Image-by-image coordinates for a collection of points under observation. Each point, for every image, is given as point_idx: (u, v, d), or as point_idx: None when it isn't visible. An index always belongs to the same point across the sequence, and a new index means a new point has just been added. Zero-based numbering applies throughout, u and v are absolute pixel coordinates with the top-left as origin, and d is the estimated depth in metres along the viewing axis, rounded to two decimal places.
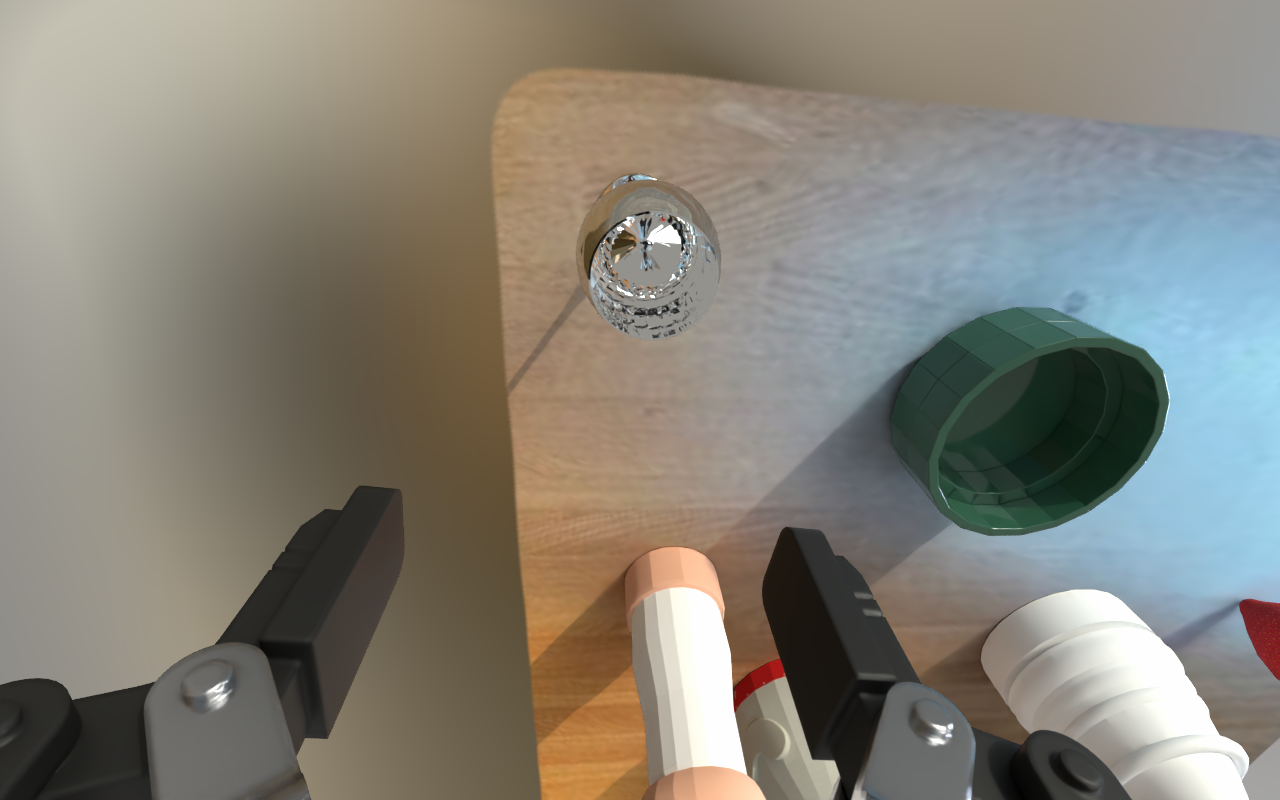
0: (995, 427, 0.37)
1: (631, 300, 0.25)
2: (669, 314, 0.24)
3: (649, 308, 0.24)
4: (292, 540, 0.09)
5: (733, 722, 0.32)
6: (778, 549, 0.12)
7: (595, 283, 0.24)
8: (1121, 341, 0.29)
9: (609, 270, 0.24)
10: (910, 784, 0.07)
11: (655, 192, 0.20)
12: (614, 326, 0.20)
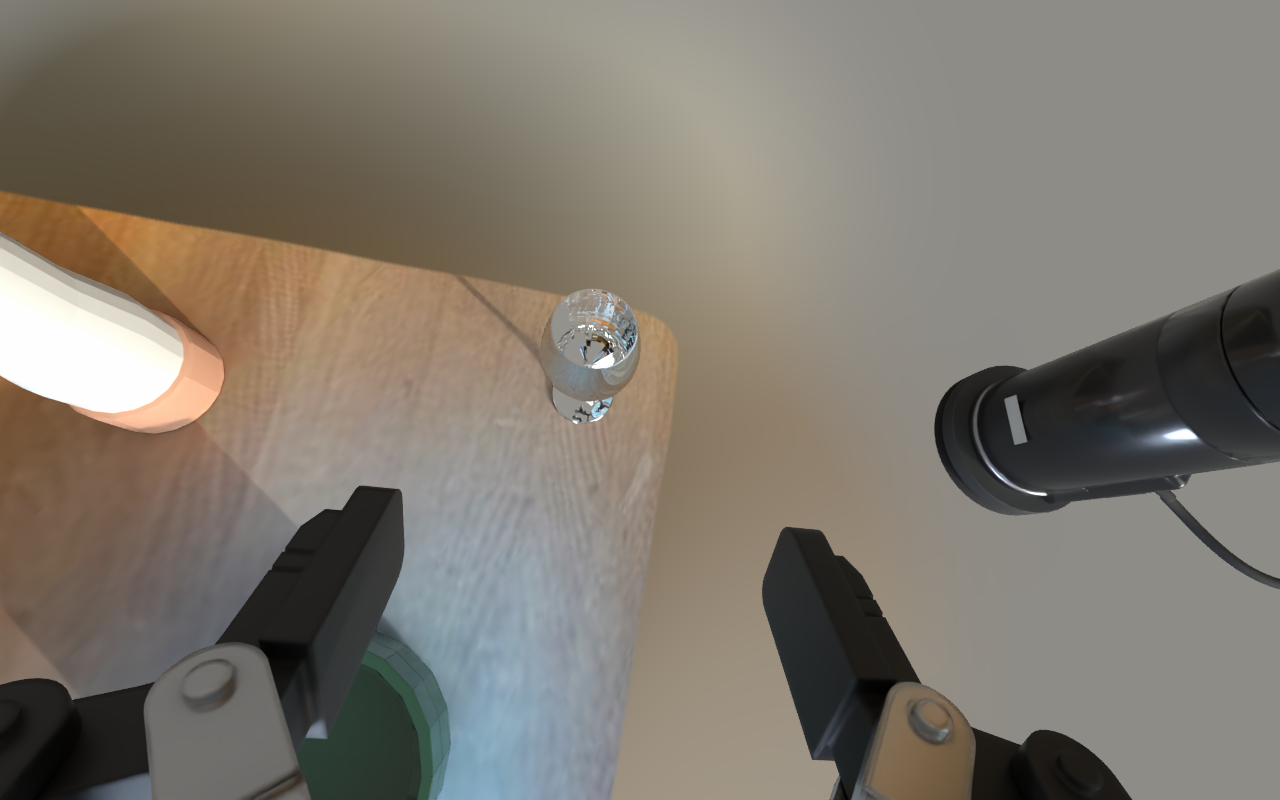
0: None
1: None
2: (543, 362, 0.32)
3: None
4: (292, 540, 0.09)
5: None
6: (778, 549, 0.12)
7: (570, 322, 0.34)
8: None
9: (573, 337, 0.34)
10: (910, 784, 0.07)
11: (639, 348, 0.31)
12: (565, 299, 0.29)
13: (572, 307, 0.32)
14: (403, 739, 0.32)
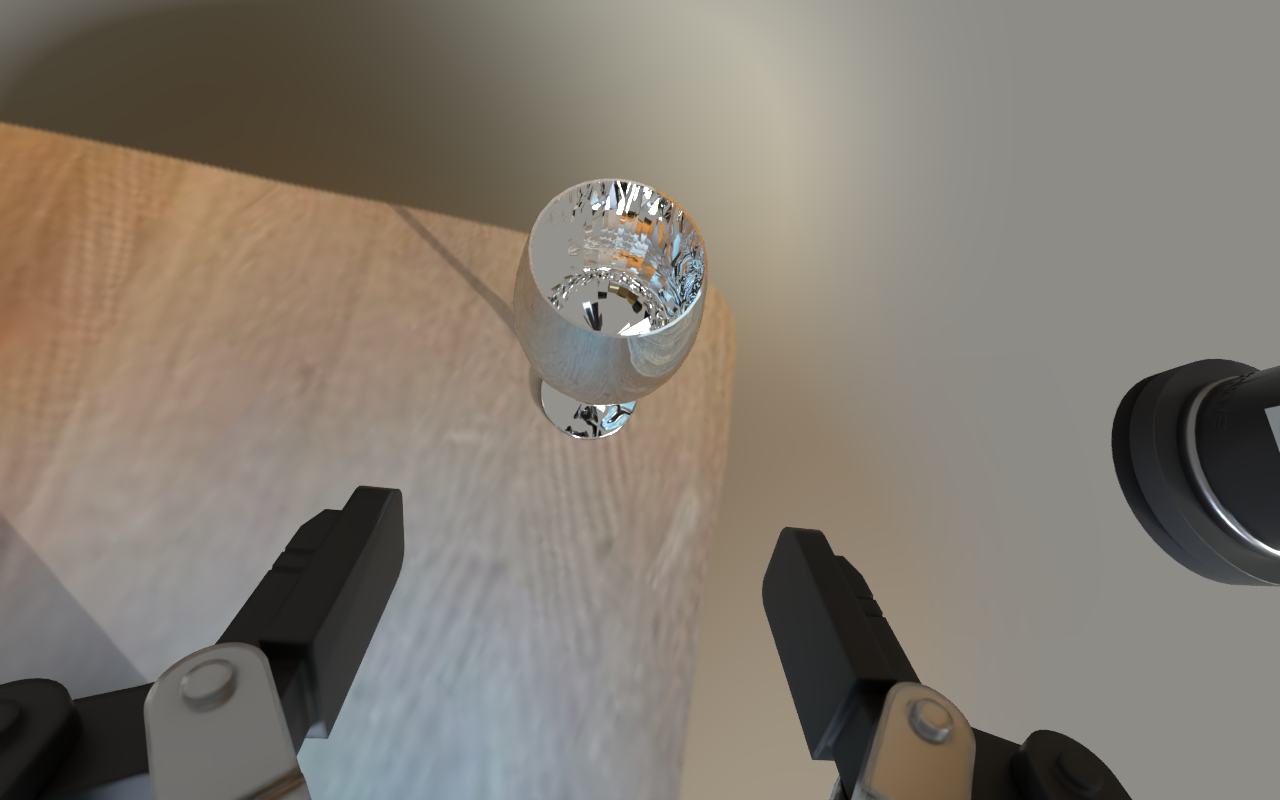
0: None
1: None
2: None
3: None
4: (292, 540, 0.09)
5: None
6: (778, 549, 0.12)
7: (570, 262, 0.19)
8: None
9: (576, 291, 0.19)
10: (910, 784, 0.07)
11: (704, 304, 0.16)
12: (560, 195, 0.14)
13: (574, 230, 0.17)
14: None
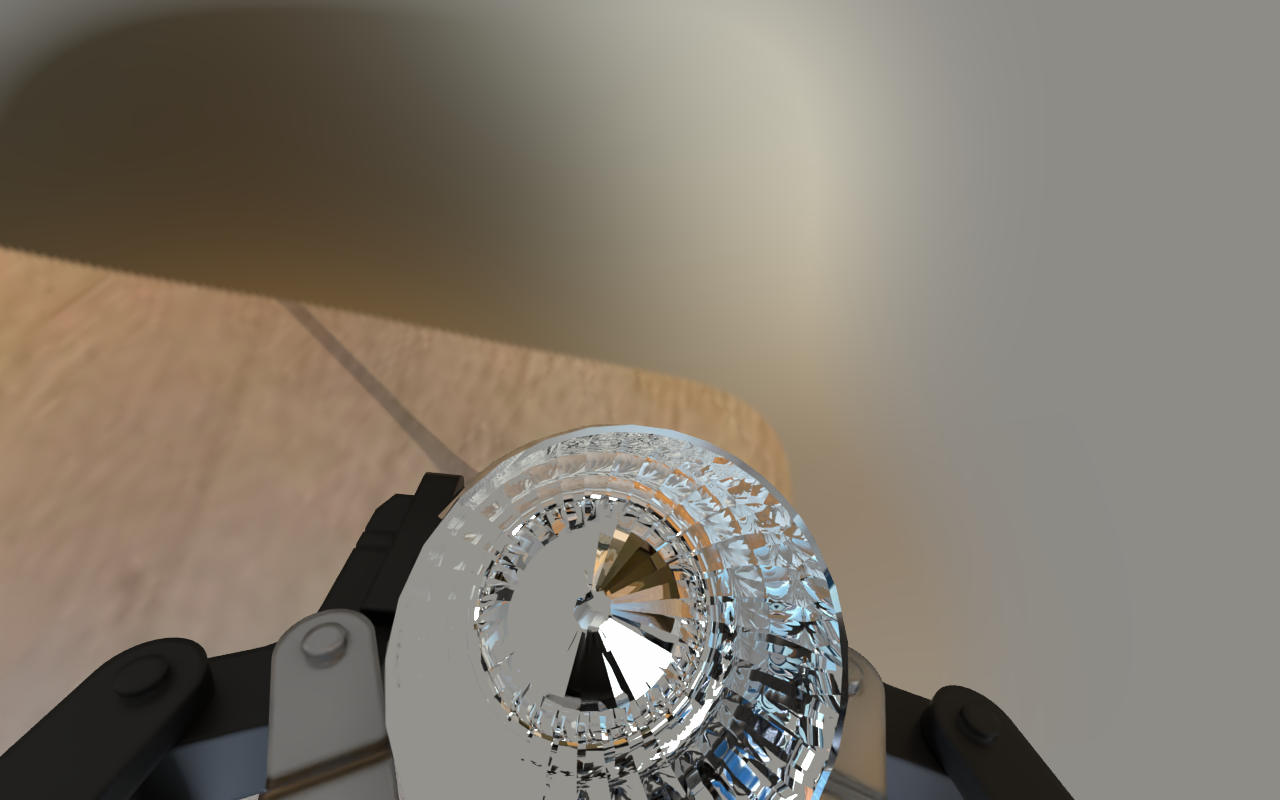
0: None
1: (469, 565, 0.10)
2: (422, 671, 0.08)
3: (442, 611, 0.09)
4: (370, 521, 0.10)
5: None
6: None
7: (532, 481, 0.10)
8: None
9: (546, 520, 0.11)
10: None
11: None
12: (479, 487, 0.06)
13: (535, 454, 0.09)
14: None
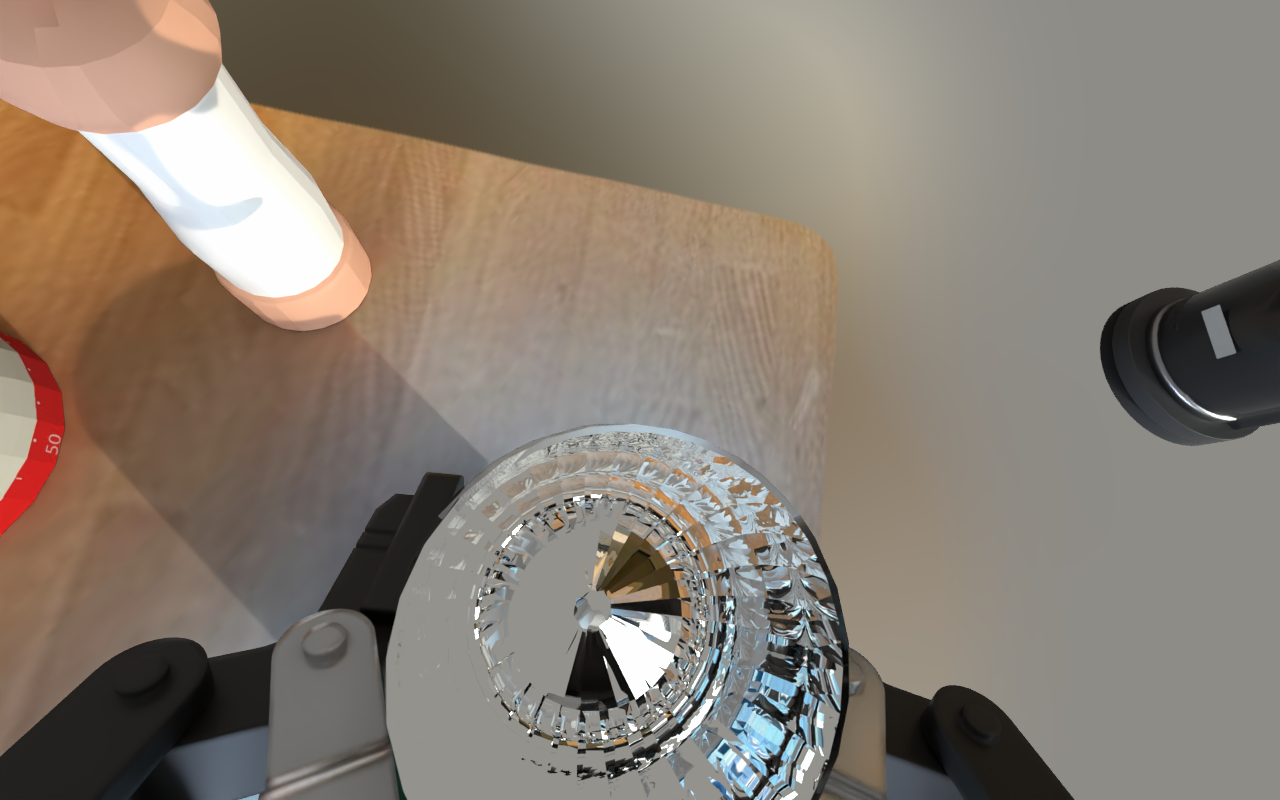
0: None
1: (469, 565, 0.10)
2: (423, 671, 0.08)
3: (443, 611, 0.09)
4: (370, 521, 0.10)
5: (197, 182, 0.21)
6: None
7: (532, 480, 0.10)
8: None
9: (546, 520, 0.11)
10: None
11: None
12: (480, 486, 0.06)
13: (535, 454, 0.09)
14: None
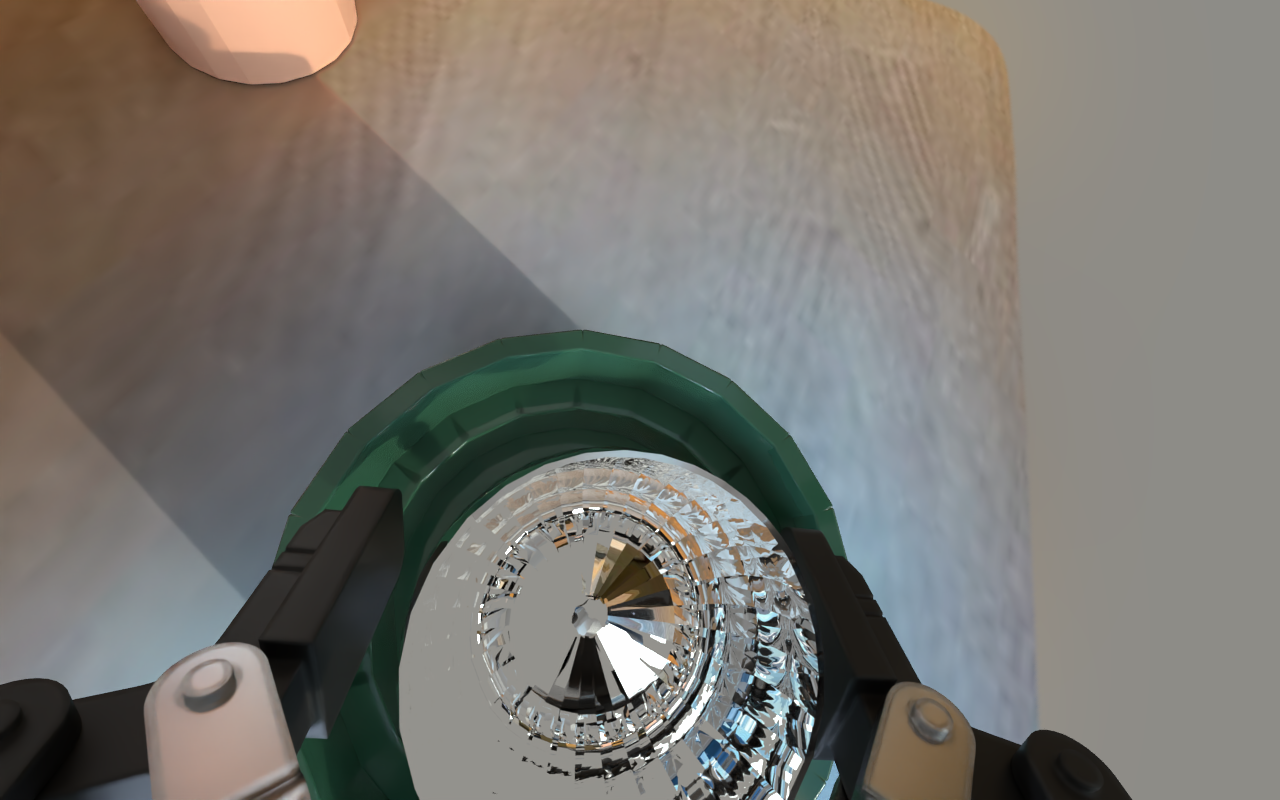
0: None
1: (471, 575, 0.10)
2: (429, 676, 0.09)
3: (447, 619, 0.10)
4: (292, 540, 0.09)
5: None
6: None
7: (533, 494, 0.11)
8: None
9: (545, 531, 0.11)
10: (910, 784, 0.07)
11: None
12: (484, 509, 0.06)
13: None
14: None
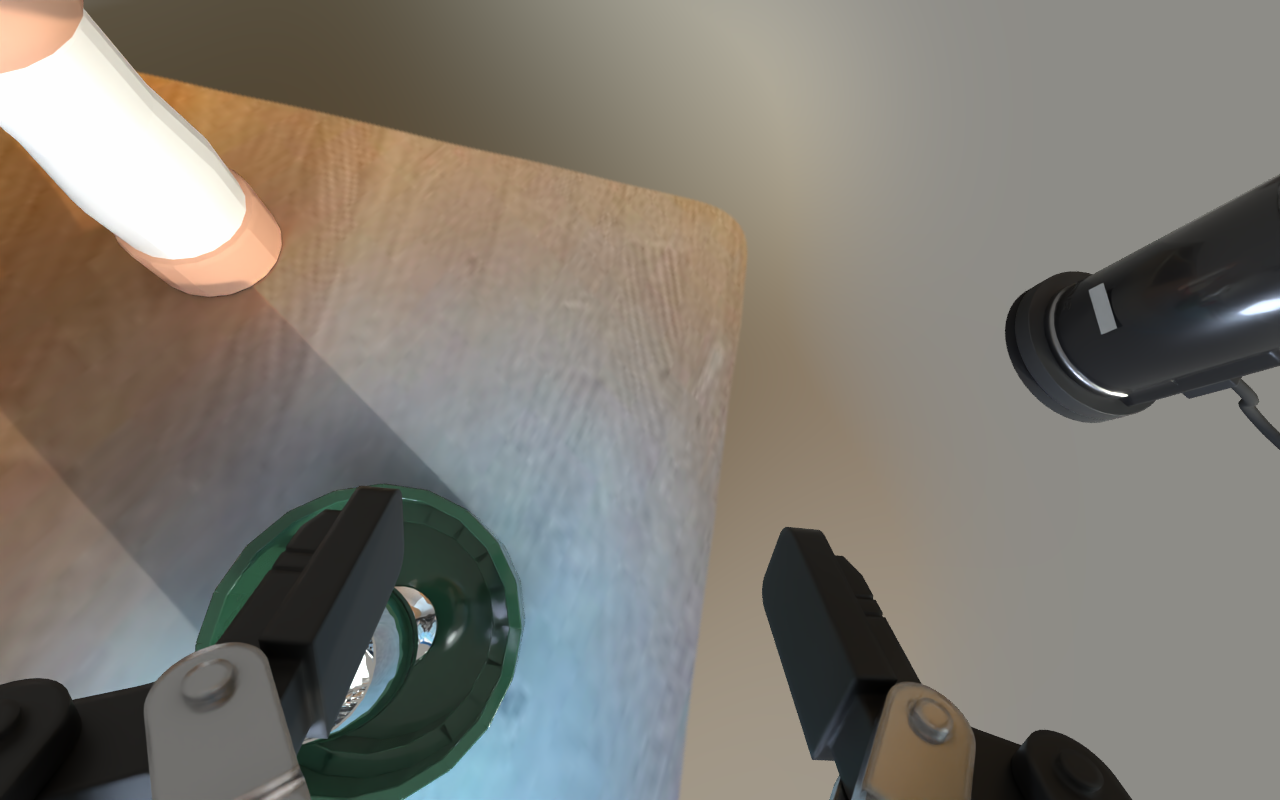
0: None
1: None
2: None
3: None
4: (292, 540, 0.09)
5: (68, 133, 0.22)
6: (778, 549, 0.12)
7: None
8: (506, 690, 0.25)
9: None
10: (910, 784, 0.07)
11: (396, 668, 0.20)
12: None
13: None
14: (475, 612, 0.30)
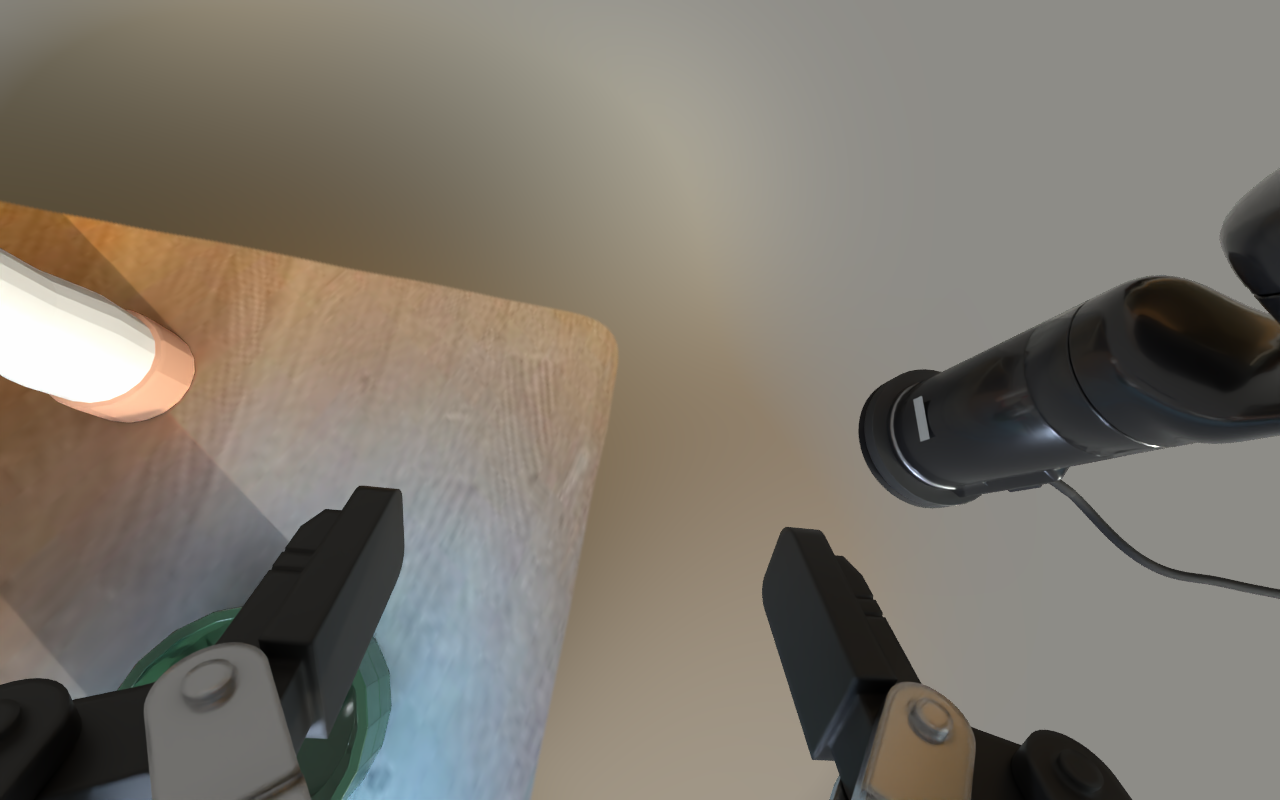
0: None
1: None
2: None
3: None
4: (292, 540, 0.09)
5: None
6: (778, 549, 0.12)
7: None
8: (351, 781, 0.30)
9: None
10: (910, 784, 0.07)
11: None
12: None
13: None
14: (348, 701, 0.36)
